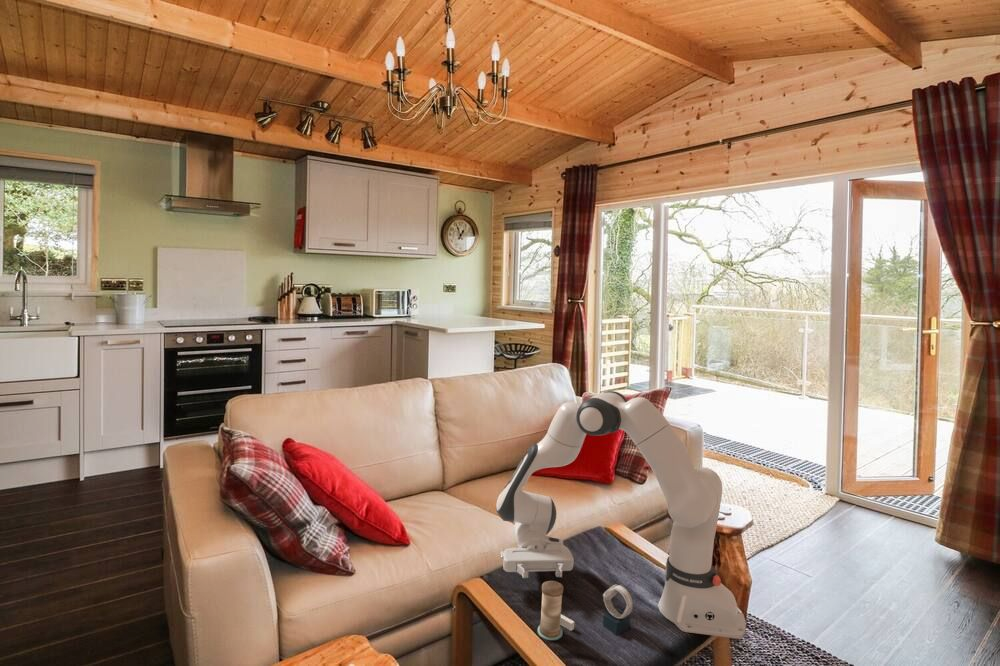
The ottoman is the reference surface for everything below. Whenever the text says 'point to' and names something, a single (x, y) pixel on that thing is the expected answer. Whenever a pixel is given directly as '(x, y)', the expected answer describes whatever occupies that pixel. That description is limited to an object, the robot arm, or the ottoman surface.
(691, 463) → the robot arm
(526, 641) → the ottoman surface
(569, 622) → the rail
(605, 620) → the watch
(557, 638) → the coaster
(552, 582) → the spool
